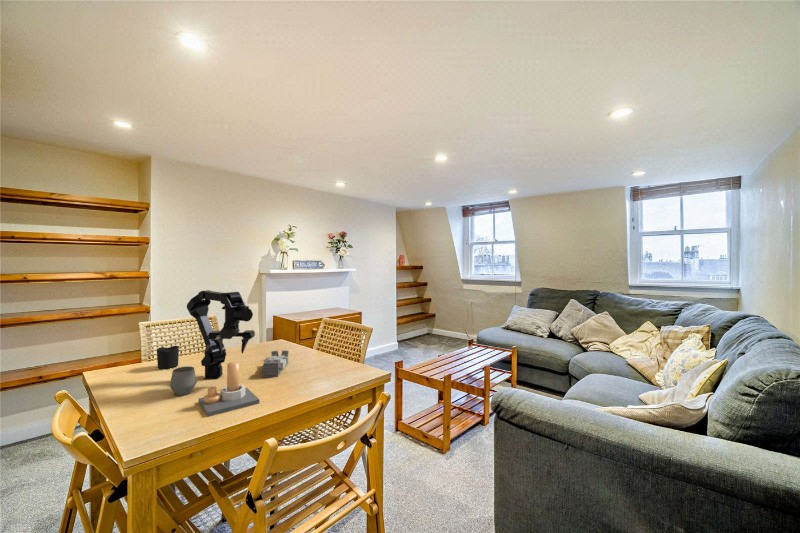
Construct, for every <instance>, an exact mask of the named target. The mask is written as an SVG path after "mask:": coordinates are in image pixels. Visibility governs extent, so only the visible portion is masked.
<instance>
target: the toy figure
mask: <svg viewBox="0 0 800 533" xmlns="http://www.w3.org/2000/svg"><path fill="white" fill-rule="evenodd" d="M289 352H290V351H289V350H286V349H285V350H283V349H282V350H281V354H279V350H271V352H270V355H271V356H269V357H267V356H266V357H265V359H264V362H263V366H262V373H263V374H262V377H263V378H264V379H265V378H279V375H280V373H281V370H282V369H284V368H286V366H288V364H289Z"/></svg>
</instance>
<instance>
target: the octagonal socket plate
mask: <svg viewBox="0 0 800 533" xmlns="http://www.w3.org/2000/svg"><path fill="white" fill-rule="evenodd" d="M217 388H218V387H216V386H209V387H208V388H207V394H206V395H204V396H203V397H198V403H199V405H200V407H201V408H202V410H203V411H204V413H205V415H206V416H207V417H212V416H216V415H219V414H224V413H227V412H232V411H235V410H238V409H243V408H247V407H250V406H254V405H258V404H260V398H258V396H257V395H255V394H254V393H253V392H252V391H251V390H250V389H249V388H248V387H246V386H245V385H244V384H239V390H238V391H233V392H227V385H226V386H224V387H222V388H221V389H220V392H218V390H217Z"/></svg>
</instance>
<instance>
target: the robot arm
mask: <svg viewBox="0 0 800 533" xmlns="http://www.w3.org/2000/svg"><path fill="white" fill-rule="evenodd" d="M212 301H216V302H220V304H221V305H224V306H221V310H224V322H223V326H222V328H221V329H220V330H213V326H212V324H211V321H210V319H209V316H208V314H209V310H210V309H209V306H210V304H211V302H212ZM186 309H187V311H188V313H189V315H190V316H191V317H193V318H194V319H195V321H196V323H197V325H198V328H199V331H200V333H201V336H202V339H203V342H204V345H205V349H204V352H203V353H204V357H203V358H202V359H201V360H200V364H201V366H202V367H204V377H203V378H202V379H203V380H217V379H219V378H220V377H222V376H223V375H224V374H223V366H222V363H225V361H226V356H227V349H226V348H225V344H224V342H223V341H224V340H230V339H233V337H236V338H237V337H241V338H242V339H241V350H240V351H241V354H244V351H245V349H246V347H247V344H248V343H249V341H250V340H251V339H253V338H254V337H255V336H256V332H255V330H252V329H251V330H249V329H247V330H244V331H243V332H240V328H239V327H240V324H239V323H240V322H249V321H250V322H251V320H252V318H253V316H254V313H253V311H252V309H251V308H250V306H249V305H247V304H246V301H244V298H243V297H242V295H241V293H240V292H239V291H230V292H222V291H215V290H214V291H213V290H208V289H207V290H201V291H199V292H198V293H197V294H196V295H195V296H193V297H192V298H191V299H190V300H189V301H188V302H187V303H186Z"/></svg>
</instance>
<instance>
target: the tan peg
mask: <svg viewBox="0 0 800 533" xmlns="http://www.w3.org/2000/svg"><path fill="white" fill-rule="evenodd" d="M226 367H227V368H226V370H227V371H226V373H227V376H226V386H227V392H233V391H238V390H239V385H240V369H241V368H240V362H237V361H232V362H229V363H227V366H226Z"/></svg>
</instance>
